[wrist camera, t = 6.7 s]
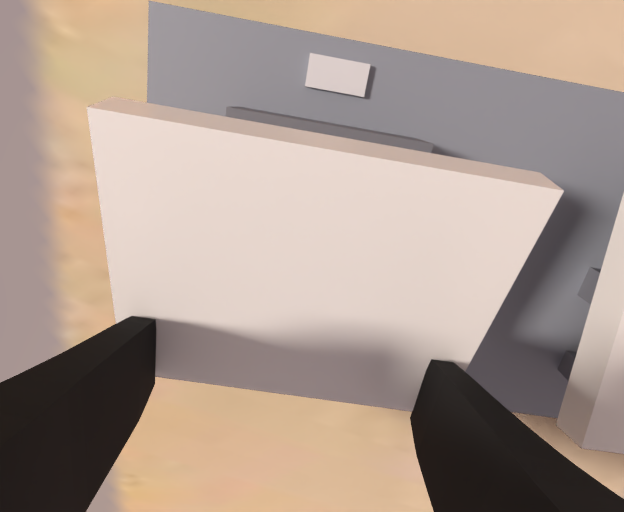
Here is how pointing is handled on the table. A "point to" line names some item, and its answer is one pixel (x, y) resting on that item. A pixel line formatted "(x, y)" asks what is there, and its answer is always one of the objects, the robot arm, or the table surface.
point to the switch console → (433, 139)
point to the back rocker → (600, 360)
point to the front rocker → (305, 251)
